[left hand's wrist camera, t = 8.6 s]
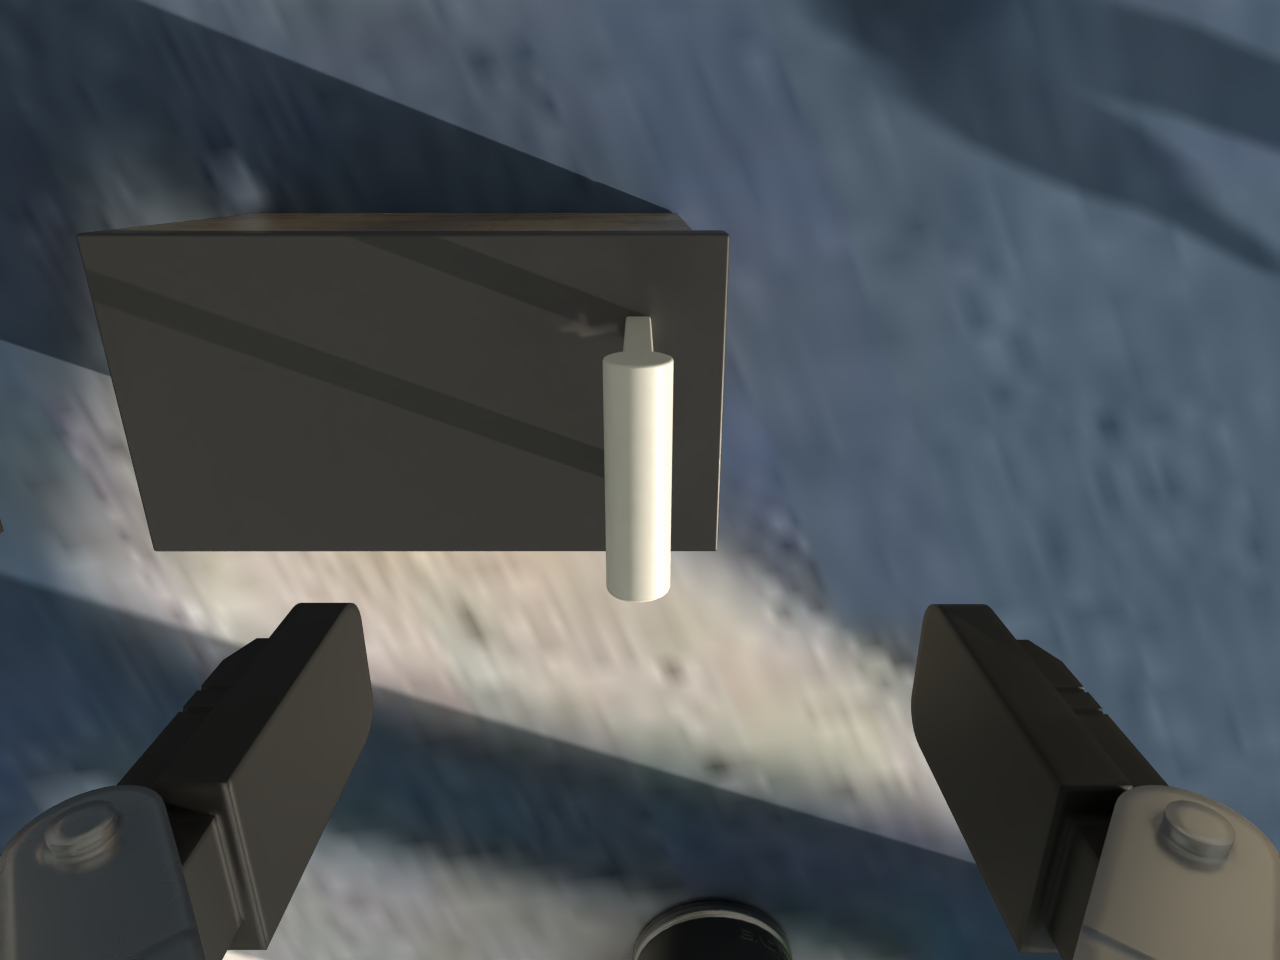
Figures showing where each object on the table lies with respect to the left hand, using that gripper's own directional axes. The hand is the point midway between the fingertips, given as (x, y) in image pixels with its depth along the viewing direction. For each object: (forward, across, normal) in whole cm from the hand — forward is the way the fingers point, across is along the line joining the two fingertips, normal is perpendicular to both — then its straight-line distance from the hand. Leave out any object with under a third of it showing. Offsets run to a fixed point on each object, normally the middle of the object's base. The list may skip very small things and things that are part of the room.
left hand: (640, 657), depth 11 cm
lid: (+14, +6, 0) cm, 16 cm away
